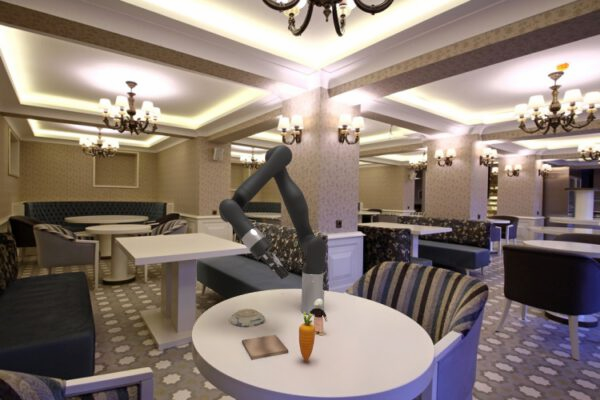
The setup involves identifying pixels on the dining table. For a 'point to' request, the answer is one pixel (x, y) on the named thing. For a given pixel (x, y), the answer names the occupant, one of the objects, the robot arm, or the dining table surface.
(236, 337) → the dining table surface
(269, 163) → the robot arm
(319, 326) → the grandmother figurine
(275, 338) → the walnut board
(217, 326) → the dining table surface
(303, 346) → the carrot
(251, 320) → the decorative bowl
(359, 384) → the dining table surface
